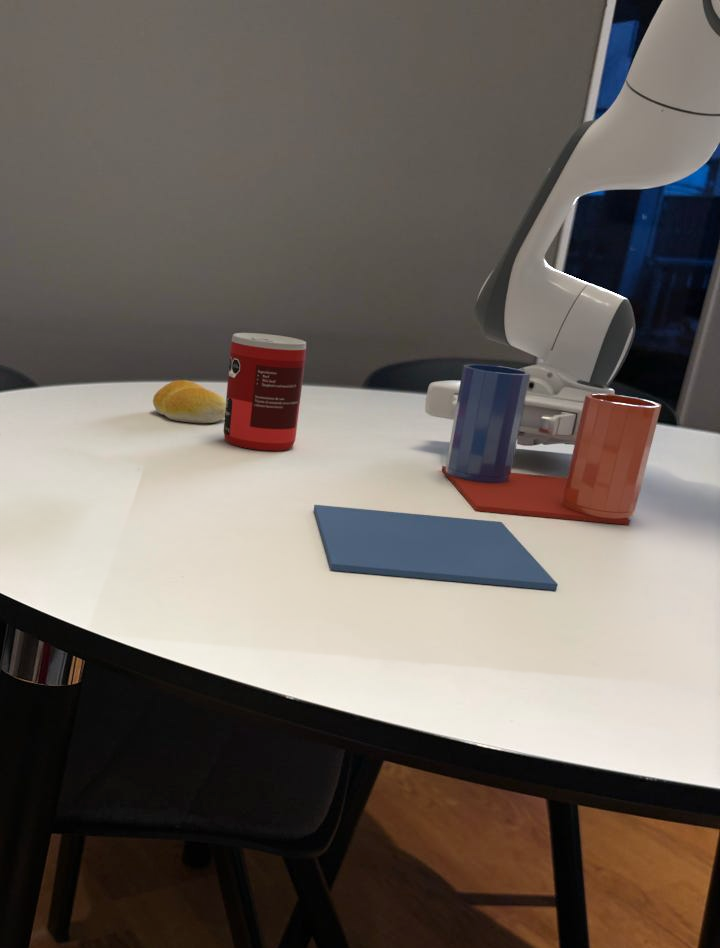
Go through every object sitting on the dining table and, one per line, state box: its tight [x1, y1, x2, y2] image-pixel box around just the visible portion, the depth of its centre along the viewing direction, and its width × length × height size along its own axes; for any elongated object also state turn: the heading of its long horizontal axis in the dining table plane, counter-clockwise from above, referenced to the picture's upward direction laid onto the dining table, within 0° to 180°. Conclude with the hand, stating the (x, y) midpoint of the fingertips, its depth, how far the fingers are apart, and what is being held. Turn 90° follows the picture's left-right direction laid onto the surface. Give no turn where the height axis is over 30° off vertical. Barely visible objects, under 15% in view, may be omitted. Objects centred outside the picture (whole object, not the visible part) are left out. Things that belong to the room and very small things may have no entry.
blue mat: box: [313, 504, 558, 591], centre depth 78 cm, size 16×16×1 cm
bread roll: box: [152, 379, 226, 424], centre depth 119 cm, size 8×9×4 cm
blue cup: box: [445, 363, 531, 483], centre depth 101 cm, size 6×6×10 cm
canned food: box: [223, 332, 307, 452], centre depth 107 cm, size 8×8×11 cm
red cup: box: [562, 393, 662, 519], centre depth 92 cm, size 6×6×10 cm
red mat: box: [441, 465, 631, 526], centre depth 98 cm, size 14×16×1 cm
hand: (501, 418), depth 105 cm, fingers open, 8 cm apart
